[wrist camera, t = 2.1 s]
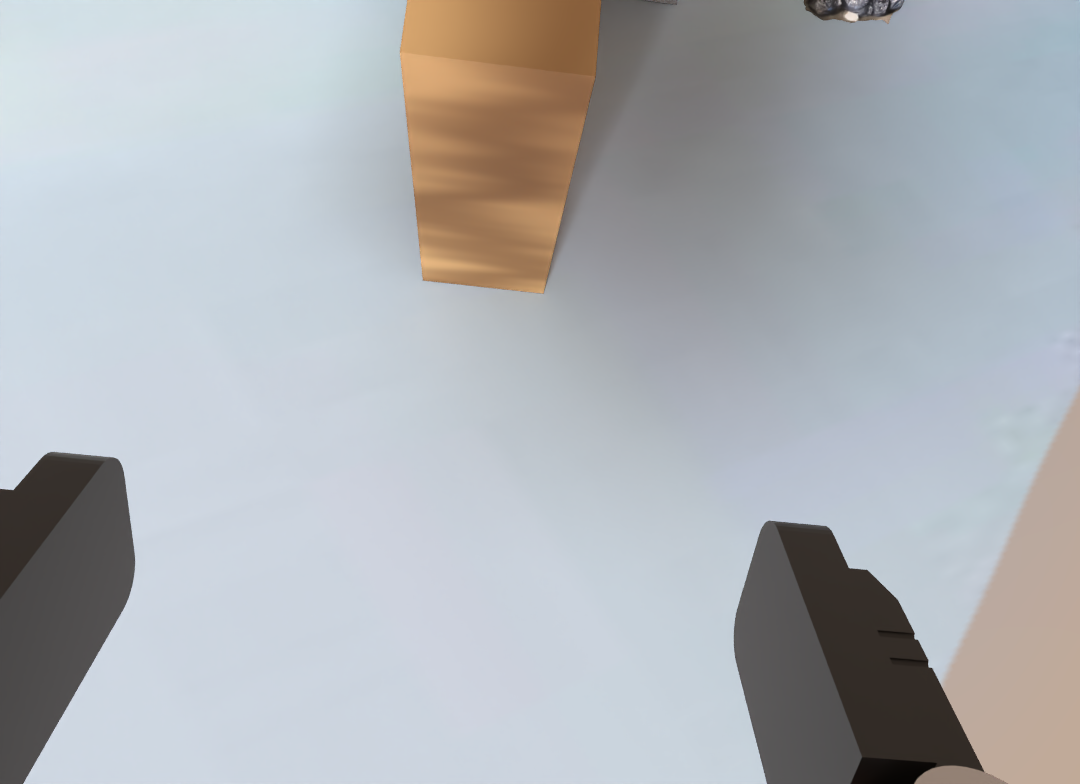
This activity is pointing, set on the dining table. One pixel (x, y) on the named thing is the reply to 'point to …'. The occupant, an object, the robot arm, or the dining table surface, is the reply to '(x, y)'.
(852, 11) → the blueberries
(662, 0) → the socket block
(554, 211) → the wooden peg
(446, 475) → the dining table surface
